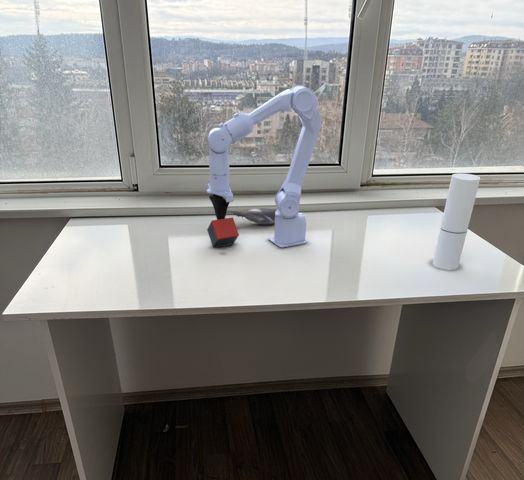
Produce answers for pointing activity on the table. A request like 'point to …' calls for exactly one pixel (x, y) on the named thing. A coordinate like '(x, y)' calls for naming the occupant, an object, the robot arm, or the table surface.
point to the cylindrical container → (455, 220)
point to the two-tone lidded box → (222, 232)
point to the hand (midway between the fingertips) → (220, 219)
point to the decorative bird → (257, 215)
